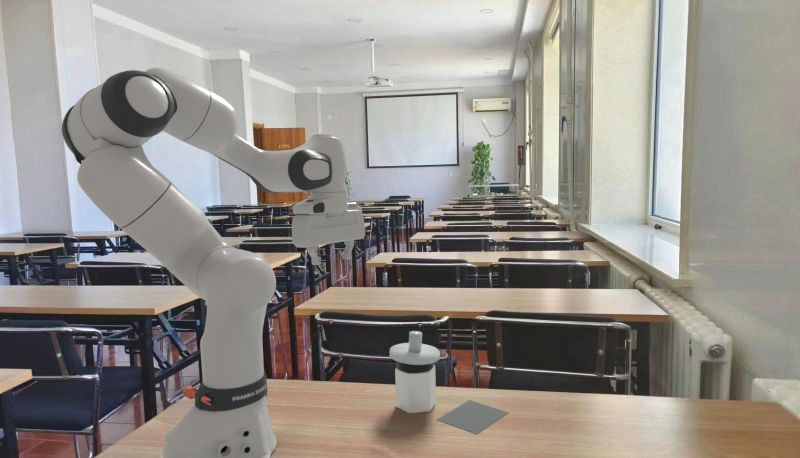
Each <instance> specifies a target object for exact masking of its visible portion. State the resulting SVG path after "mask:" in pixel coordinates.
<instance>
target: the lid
mask: <svg viewBox="0 0 800 458" xmlns="http://www.w3.org/2000/svg"><path fill="white" fill-rule="evenodd" d="M408 335H409V336H408V342H403V343H398V344H394V345H392V346H391V347H390V348H389V358H390V359H392V360H393V361H395V362H396V363H397V362H400V363H405V364H411V365H426V364H432V363H434V364H435V363H437V362H438V361H440V358H441V351H440V349H438V348H437V347H435V346H433V345H429V344H425V343H422V342H423V332H422V331H418V330H412V331H409V333H408Z"/></svg>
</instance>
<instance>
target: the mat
mask: <svg viewBox="0 0 800 458" xmlns="http://www.w3.org/2000/svg"><path fill="white" fill-rule="evenodd" d="M508 414H510V412H508V411H506V410H502V409H498V408H496V407H493V406H489V405H487V404H483V403H479V402H476V401H474V400H467V401H465V402H464V403H462V404H460V405H459V406H456V407H455V408H454V409H452V410H450V411H449V412H446V413H445V414H443V415H442V416H440V417H438V418H436V421H438V422H441V423H445V424H447V425H449V426H452V427H455V428H458V429H461V430H463V431H466V432H468V433H472V434H474V435H478V434H480V433H481V432H483V431H484V430H486V429H487V428H489V427H491V426H492V425H493V424H495V423H496V422H498V421H499V420H500V419H502V418H504V417H505V416H507V415H508Z"/></svg>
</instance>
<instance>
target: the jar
mask: <svg viewBox="0 0 800 458" xmlns="http://www.w3.org/2000/svg"><path fill="white" fill-rule="evenodd" d="M394 377H395V403H396V405H395V406H396V408H398V409H400V410H402V411H404V412H406V413H407V414H415V413H416V414H417V413H425V412H431V411H432V409H433V408H434V406H435V405H436V403H437V387H436V384H437V383H436V381H437V379H436V365H435V363H432V364H426V365H411V364H405V363H400V362H397V361H396V367H395V369H394Z"/></svg>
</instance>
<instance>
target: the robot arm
mask: <svg viewBox="0 0 800 458" xmlns="http://www.w3.org/2000/svg"><path fill="white" fill-rule="evenodd" d="M238 125H239V119H238V114H237V111H236V109H235V108H234V106H233V105H231V104H230V103H229V102H228V101H227V100H226V99H224V98H223V97H222V96H221V95H219V94H218V93H216V92H214V91H212V90H211V89H209V88H207V87H205V86H204V85H203V84H200V83H199V82H196V81H194V80H192V79H190V78H188V77H186V76H184V75H181V74H178V73H176V72H174V71H171V70H168V69H165V68H163V67H151V68H148V69H146V70H145V71H142V70H136V69H135V70H132V69H131V70H125V71H120V72H117V73H115V74H113V75H111V76H109V77H108V78H106V80H105V81H104V82H102V83H101V84H99V85H97V86H96V87H94V88H91V89H90V90H88V91H87V92H86V93H85V94H84V95H82V96H81V97H80V99H79V100H78V101H77V102H76V103H75V104H73V105H72V106H71V107H70V108H69V109H68V110H67V112H66V113H65V115H64V117H63V120H62V123H61V135H62V138H63V140H64V143H65V144H66V147H68V149H69V150H70V152H71V153H72V154H73V155H74V158H75V160H76V162H77V163H78V164H80V165H79V168H78V171H77V176H76V177H77V179H76V180H77V183H78V186H79V187H80V188H81V190H82V191H83V192H84V193H85V195H86V196H87V197H88V198H89V199H90V201H91V202H92V203H93V204H94V205H95V206H96V207H97V208H98V209H99V210H100V211H101V212H102V213H103V215H105V216H106V217H107V218H108V219H109V220H110V221H111V222H112V223H113V224H115V225H116V226H117V227H118V228H119V229H120V230H122V232H124V233H125V234H126V235H128V236H129V237H130V238H131V239H132V240H133V241H135V242H136V243H137V244H139V246H141V247H142V248H143V249H145V251H147V253H149V254H150V255H152V256H153V257H154V258H155V259H156V260H157V261H158V262H159V263H160V264H161V265H162V266H164V268H166V270H167V271H168V272H169V273H171V274H172V275H173V276H174V277H175V278H176V279H177V280H178V281H179V282H181V283H182V285H184V286H185V287H186V288H187V289H189V290H190V291H191V292H192V293H193V294H194V295H195V296H197V297H198V298H200V299H202V300H203V301H205V303H206V318H205V324H204V325H205V326H204V331H203V333H202V334H203V335H202V336H201V339H200V342H199V343H200V344H199V347H200V358H201V360H200V361H201V375H202V380H201V382H200V384H199V387H198V389H197V388H196V387H193V386H191V385H187V386H185V387H184V389H183V390H182V394H183V397H186V398H187V399H189V400H193V399H194V404H193V405H192V406H191V408H190V409H189V410H188V411H187V412H186V413H185V414H184V415H183V416H182V417H181V418H180V419H179V421H178V422H177V423H175V424H174V426H173V427H171V429H170V430H169V431H168V432H167V433H166V435H165V438H164V441H163V445H162V446H163V448H162V455H161V456H160V457H159V458H272V457H271V455H272V453H273V452H274V450H275V449H276V448H277V444H278V442H277V438H276V435H275V433H274V431H273V427H272V424H271V420H270V415H269V409H268V402H267V396H268V382H267V381H268V380H267V373H266V372H265V369H264V352H263V351H264V350H263V349H264V348H263V330H264V324H265V323H264V322H265V317H266V313H267V307H268V304H269V303H270V302H271V300H272V299H273V297H274V294H275V292H276V288H277V278H276V274H275V272H274V270H273V268H272V267H271V265H270V264H269V263H268V262H267V261H266V260H264V259H263V258H262V257H261V256H259V254H256V253H255V252H254V251H253V252H252V251H249V250H244V249H240V248H237V247H235V246H233V245H231V244H230V243H228V242H227V241H226V240H225V239H224V238H223V237H222V235H220V233H219V232H218V231H217V230H216V228H215V227H214V226H213V225H212V224H211V223H210V221H209V220H208V218H207V216H206V214H205V212H204V211H202V210H201V208H200V207H198V206H197V205H196V204H195V203H194V202H193V201H192V199H190V198H189V197H188V196H186V195H185V193H183V192H182V191H181V190H180V189H179V188H178V187H177V186H176V185H175V184H174V183H173V182H171V181H170V179H168V178H167V177H166V176H165V175H164V174H163V173H162V172H160V171H159V170H158V169H157V168H155V167H154V166H153V165H152V163H151V162H150V160H149V159H148V157H147V156H146V155H147V154H146V153H145V151H144V147H143V146H144V145H145V144H146V143H147V142H148V141H149V140H151V139H152V138H153V137H155V136H157V135H159V134H160V133H162V132H164V133H167V134H168V135H170V136H171V137H174V138H176V139H177V140H179V141H182V142H183V143H185V144H188V145H189V146H192V147H194V148H197V149H199V150H202V151H204V152H207V153H209V154H212V155H213V156H214V157H216V158H218V159H219V160H221V161H222V162H224V163H227V164H228V165H231V166H232V167H234V168H236V169H237V170H239V171H241V172H242V173H244V174H245V175H246V176H248V177H249V179H251V181H252V182H253V183H254V184H255V185H256V187H258V188H259V189H260V190H261V191H262V192H264V193H267V194H272V195H273V194H274V195H275V194H281V193H304V192H305V193H306V192H309V197H307V198H306V199H303V200H300V202H297V203H294V204H293V206H292V213H293V214H295V215H294V216H293V218H292V223H291V241H292V244H293V245H294V246H295V247H296V248H306V251H307V253H308V256H310V258H311V259H310V260H311V265H312V266H319V265H321V264H322V256H318V254H317V252H316V251H318V246H324V245H330V244H337V243H342V242H344V245H345V247H344V250H343V251H342V252H341V259H342V260H351V258H352V251H353V249H354V245H355V241H357V240H362V239H365V235H366V227H365V218H364V214H363V208H362V206H361V205H360V204H359V203H358V202H356V201H355V202H354V201H353V202H349V198H348V197H349V196H348V188H347V187H348V186H347V185H346V177H347V174H348V173H347V171H348V170H347V157H346V151H345V146H344V144H343V141H342V140H341V138H339V137H337V136H334V135H331V134H323V133H322V134H314V135H311V137H309V139H308V140H307V141H306V142H305V143H302V144H301V145H300V146H297V147H295V148H292V149H291V148H290V149H285V150H284V149H283V150H264V149H260V148H258V147H256V146H255V145H254V144H252V143H250V142H248V141H247V140H246V139H244V138H242V137H241V136H239V135H237V131H238Z"/></svg>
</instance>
